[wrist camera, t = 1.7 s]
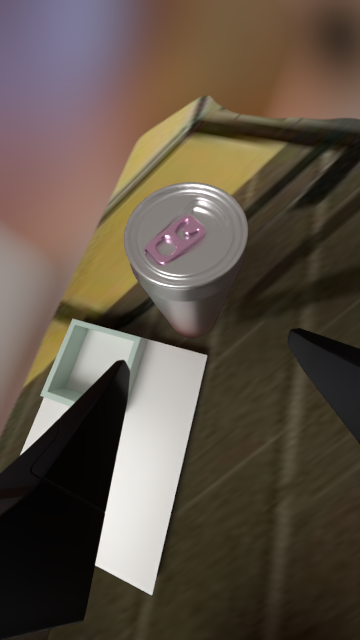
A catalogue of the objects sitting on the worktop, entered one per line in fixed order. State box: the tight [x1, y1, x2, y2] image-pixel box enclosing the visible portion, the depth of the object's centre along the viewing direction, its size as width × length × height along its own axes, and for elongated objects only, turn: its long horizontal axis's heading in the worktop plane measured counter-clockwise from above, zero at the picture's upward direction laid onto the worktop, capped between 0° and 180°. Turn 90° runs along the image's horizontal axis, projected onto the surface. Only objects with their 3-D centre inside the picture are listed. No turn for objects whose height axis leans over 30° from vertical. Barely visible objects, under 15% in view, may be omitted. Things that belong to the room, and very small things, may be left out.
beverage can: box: [124, 182, 248, 338], centre depth 14 cm, size 6×6×15 cm
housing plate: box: [20, 319, 207, 595], centre depth 18 cm, size 22×18×4 cm
